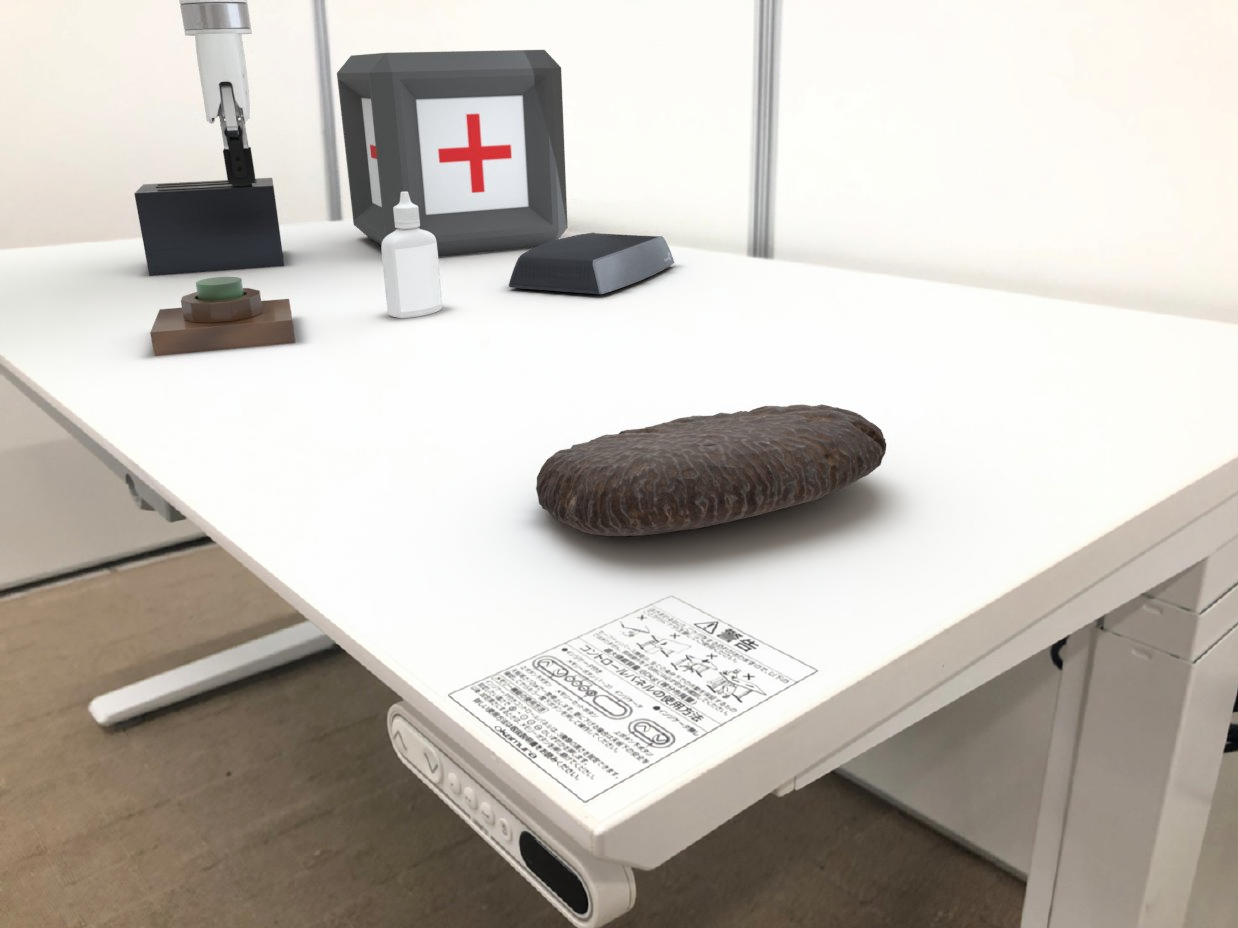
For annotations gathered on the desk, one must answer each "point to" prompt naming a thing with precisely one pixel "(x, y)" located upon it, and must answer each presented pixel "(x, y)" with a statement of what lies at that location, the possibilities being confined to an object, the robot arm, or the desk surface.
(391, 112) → the first aid kit
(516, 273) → the hard drive
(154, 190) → the toaster
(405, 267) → the eye dropper bottle
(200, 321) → the brown button base
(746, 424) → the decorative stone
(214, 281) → the button
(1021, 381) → the desk surface
